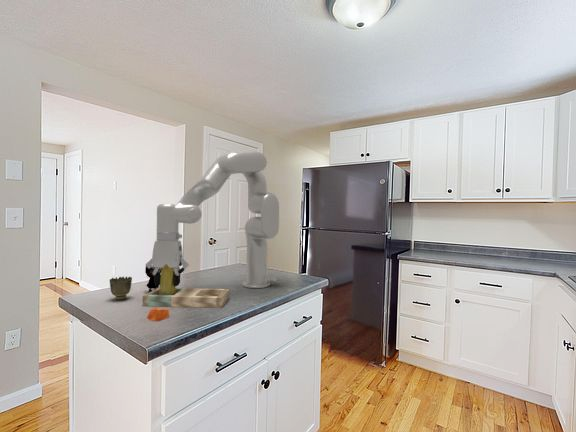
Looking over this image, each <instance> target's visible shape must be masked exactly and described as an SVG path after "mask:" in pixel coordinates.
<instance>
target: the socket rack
mask: <svg viewBox="0 0 576 432" xmlns="http://www.w3.org/2000/svg"><path fill="white" fill-rule="evenodd" d="M159 289H160V286H159V287H158V288H156V289H155V290H154V289H152V291H151V292H149V293H148V292H147V293H146V294H144V295H142V307H166V308H167V307H169V308H170V307H172V308H174V307H175V308H205V309H206V308H207V309H211V308H212V309H213V308H215V309H222V308H223V307H224V305H225V304H226V303H227V302H228V300H229V299H230V288H229V289H228V288H205V287H204V288H201V287H199V288H197V287H175V290H176V294H175V295H159Z"/></svg>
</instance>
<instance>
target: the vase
mask: <svg viewBox="0 0 576 432" xmlns="http://www.w3.org/2000/svg"><path fill="white" fill-rule="evenodd" d="M160 274H161V277H160V285H159V287H160V289H159V295H175V294H176V290H175V288H176V286H174V276H175V272H174V270H173V268H170V267H168V265H167V264H165V265H164V267H163V268H161V273H160Z"/></svg>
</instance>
